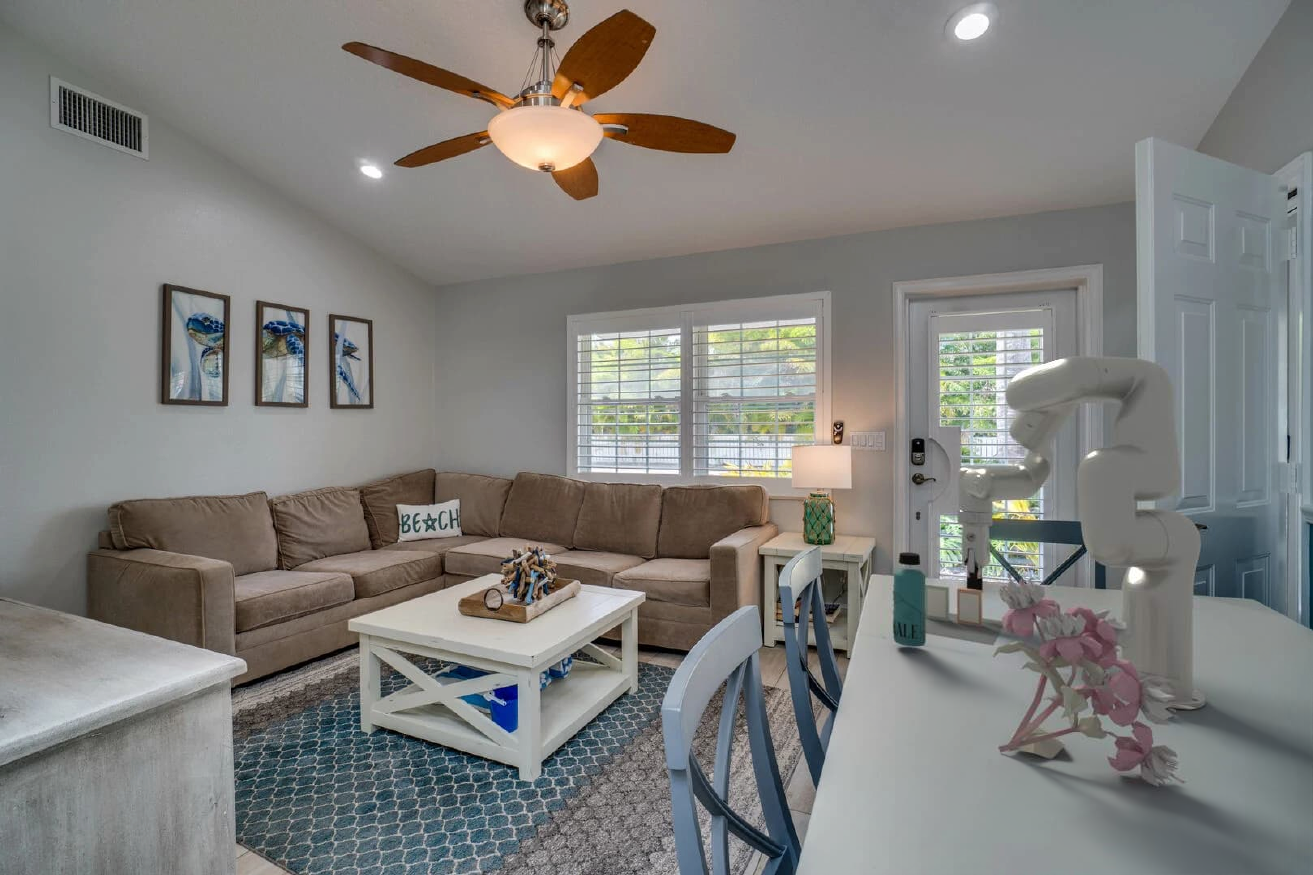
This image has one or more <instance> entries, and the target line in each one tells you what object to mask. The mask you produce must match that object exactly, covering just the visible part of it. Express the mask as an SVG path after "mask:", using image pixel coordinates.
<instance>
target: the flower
mask: <svg viewBox="0 0 1313 875" xmlns="http://www.w3.org/2000/svg"><path fill="white" fill-rule="evenodd" d="M1011 575H1012V574H1011V573H1009V572H1007V577H1008V579H1009V582H1008V585H1006V584H1004V585H1003V586H1001V585H1000V588H999V593H998V594H999V596H1000V599H1001V600H1002V602H1004V603H1006V605H1007V606H1008V608H1009V610H1007V612H1006V613H1005V614H1004V615H1003V616H1002V618H1001V619H1002V620H1001V621H1002V623H1003V628H1002V629H1004V631H1005V632H1006V633H1010V634H1013V632H1014V633H1015V635H1018V636H1021V637H1024V638H1027V637H1028V638H1029V637H1034V631H1035V630H1034V624H1035V627H1036V629H1037V631H1038V634H1039V636H1040V639H1041V641H1042V644H1041V645H1040V647H1039V649H1038V648H1036V647H1034V646H1032V645H1030V644H1028V643H1026V642H1025V641H1023V640H1022V641H1020V640H1016V641H1014V642H1011V643H1008V644H1005V645H1002V646H999V647H996V649H995V651H994V653H993V656H992V657H993V658H995V657H996V656H998V654H999V653H1001V654H1008V655H1009V654H1012V653H1013V654H1014V653H1017V652H1020V651H1022V652H1024V654H1026V655H1027V656H1028V657H1029V658H1030V659H1031V660H1032V661H1026V662H1025V664H1024V665H1023V666H1022V667H1021V669H1022V670H1024V669H1026V668H1027V669H1029V670H1030V671H1032V672H1036V673H1041V675H1040V678H1039V682H1038V684H1037V689H1036V692H1035V695H1034V698H1033V700H1032V702H1031V705H1030V707H1029V708H1028V710H1027V711H1026V714H1024V717H1023V718H1022V720H1021V722H1020V723H1019V725H1018V726H1017V727H1016V729H1015V730H1014V731H1013V732H1012V733H1011V734H1010V736H1009V743H1007V744H1004V745H1000V746H997V748H998V751H999V752H1000V753H1004V752H1007V753H1009V752H1013V751H1021V752H1026V753H1032V754H1035V755H1037V756H1039V757H1043V758H1045V759H1049V760H1051V759H1052V758H1055V757H1056V756H1057V755H1058V754H1059V753H1060V752H1061V750H1063V748H1064V747H1065V745H1066V744H1065V743H1064V742H1063V740H1062V739H1061V738H1060V737H1061V736H1064V735H1069V734H1072V733H1081V734H1083V735H1084V736H1086V737H1087V738H1092V739H1098V740H1103V739H1105V738H1106V737H1108V736H1111V737H1114V738H1115V742H1114V745H1115V747H1116V749H1117V750H1116V752H1115V758H1113V757H1110V756H1108V755H1106V758H1107V761H1108V764H1109V766H1110V767H1111V768H1113V769H1115V770H1116V771H1118V772H1127V771H1128V772H1129V771H1132V770H1133V769H1135V768H1136V767H1137V766H1138V765H1140V775H1141V776H1140V777H1141V778H1142V779H1143V780H1144V781H1146V783H1148V784H1151V785H1153V786H1156V787H1160V785H1159V783H1158V780H1160V781H1161V782H1162V783H1163V784H1164V785H1165V786H1167V784H1166V782H1165V780H1169V781H1170V782H1171V783H1173V780H1172V779H1171V778H1170V777H1172V778H1173V779H1175V780H1176V781H1178V782H1179V783H1182V784H1185V783H1186V781H1185V780H1182V779H1180V777H1178V776H1175V774H1173V773H1172V772H1174V771H1175V770H1178V769H1179V768H1177V766H1178V764H1179V763H1180V762H1178V761H1177V760H1175V759H1174V758H1178V754H1177V752H1176V751H1175V750H1173V749H1172V748H1170V747H1168V746H1167V745H1165V744H1163V745H1155V746H1153V745H1154V742H1155V741H1154V738H1153V730H1152V729H1151V727H1150V726H1148V725H1147V724H1144V723H1142V722H1141V721H1139V720H1136V719H1137V718H1138V715H1139V711H1141V712H1142V714H1143V716H1144V718H1145V719H1146V720H1148V721H1149V722H1151V723H1153V724H1154V725H1161V726H1170V723H1169V722H1167V721H1166V720H1167V719H1169V718H1171V717H1174V718H1175V719H1176V720H1180V718H1179V717H1180V716H1179V715H1178V714H1176V713H1177V711H1176V710H1177V709H1175V708H1168V707H1170V706H1173V707H1178V708H1184V709H1183V710H1196V709H1197V708H1193V707H1191V706H1186V705H1179V704H1173V703H1171V702H1169V701H1168V700H1170V701H1177V700H1176V699H1171V698H1173V697H1174V696H1172V695H1176V692H1177V691H1174V692H1172V691H1171V688H1170V687H1168V686H1167V685H1166V684H1167V683H1170V682H1172V680H1169V679H1166V678H1163V677H1160V676H1149V677H1148V678H1146V679H1145V680H1144V681H1143V682H1142V683H1140V680H1139V676H1138V673H1137V670H1136V669H1135V667H1134V666H1133V664H1132V663H1131V662H1130V661H1128V660H1123V659H1121V658H1118V659H1117V657H1118V654H1117V653H1118V652H1121V650H1120V649H1118V648H1117V646H1119V647H1120V648H1121V647H1122V648H1124V649H1125V648H1130V645H1131V643H1132V641H1133V640H1132V639H1130V638H1125V636H1127V637H1129V636H1130V635H1127V634H1128V633H1127V631H1128V628H1129V623H1127V622H1123V623H1121V622H1117V618H1116V617H1113V618H1112V619H1110V618H1108V620H1106V617H1107V616H1108V615H1109V613H1110V612H1111V610H1110V609H1108V608H1106V609H1103V610H1101V611H1099V612H1097V613H1094V612H1093V610H1092V609H1090V608H1088V607H1085V606H1082V605H1079V606H1073V607H1072V606H1071V607H1067V609H1066V611H1065V613H1064V614H1063V613H1061V606H1060V604H1058V603H1057V602H1056V601H1055V600H1054V599H1051V598H1046V597H1045V596H1046V593H1045V588H1044V587H1043V586H1042V585H1041V584H1034V582H1033V581H1032V579H1031V577H1029V578H1028V580H1027V581H1026V580H1025V579H1023V578H1020V580H1019V581H1018V583H1019V586H1018V585H1016V583H1015V582H1014V581H1013V580H1012V578H1011ZM1037 617H1038V618H1039V621H1037ZM1045 635H1048V636H1051V637H1054V638H1053V639H1049V640H1047V641H1046V638H1045ZM1070 666H1071V675H1070V677H1069V679H1068V681H1067V683H1066V682H1065V680H1064V678H1062V676H1061V675H1060V673H1059V671H1058V670H1057V669H1058V668H1066V667H1070ZM1113 666H1115V667H1117V668H1119V669H1120V670H1121V669H1122V670H1123V671H1119V672H1116V673H1114V671H1111V672H1110V673H1106V672H1107V670H1110V669H1111V668H1112V667H1113ZM1077 667H1078V668H1081V669H1082V668H1083V669H1082V674H1081V679H1080V680H1081V681H1082V682H1083V683H1084V684H1082V685H1077V686H1074V687H1072V685H1073V683H1074V681H1075V679H1076V675H1077V674H1076V673H1077ZM1048 680H1049V681H1050V684H1051V685H1052V687H1053V689H1054V691H1055V694H1049V695H1048V696H1046V697H1044V698H1043V695H1044V692H1045V689H1046V685H1047V681H1048ZM1114 694H1115V695H1116V696H1117V697H1116V696H1115V695H1114ZM1171 694H1172V695H1171ZM1090 697H1091V698H1090ZM1089 698H1090V699H1091V700H1090V701H1091V708H1092V709H1093V712H1092V714H1089V715H1086V716H1083V717H1080V720H1079V718H1078V716H1079V713H1082V712H1084V711H1086V710H1087V709H1088V708H1089V703H1088V701H1087V700H1088V699H1089ZM1042 700H1050V701H1051V702H1052V703H1051V704H1049V705H1048V706H1047V707H1046V708H1045V709H1044V710H1043V711H1042V712H1040V714H1038V716H1036V717H1035V718H1034V719H1033V720H1032V718H1033V716H1034V714H1035V712H1036V711H1037V710H1038V707H1039V706H1040V704H1041V702H1042ZM1121 700H1122V701H1121ZM1123 701H1124V702H1128V704H1126V703H1124V702H1123ZM1059 707H1062V708H1064V711H1063V713H1062V715H1061V717H1060V719H1064V718H1067V717H1068V718H1067V719H1068V722H1069V726H1070V727H1068V728H1064V729H1061V730H1058V731H1054V732H1053V731H1051V730H1049V729H1046V728H1044V727H1042V726H1040V725H1041V724H1042V723H1043V722H1045V720H1046V719H1048V717H1049V716H1050V715H1051V714H1052V713H1054V712H1055V710H1056V709H1058V708H1059ZM1114 707H1115V708H1114ZM1167 709H1168V710H1167ZM1169 710H1170V711H1172V712H1174V714H1173V713H1172V712H1170V711H1169ZM1098 715H1100V716H1103V717H1104V716H1108V717H1109V719H1110V721H1112V722H1113V724H1115V725H1117V726H1119V727H1121V728H1124V727H1128V726H1130V725H1131V727H1132V730H1131V731H1130V732H1131V733H1132V735H1133V737H1134V738H1135V739H1134V738H1133V737H1131V736H1121V735H1120V736H1119V735H1116V734H1115V733H1114V732H1112V731H1107V730H1104V729H1103V728H1102V724H1103V722H1102V721H1101V720H1100V718H1099V717H1098ZM1031 720H1032V721H1031ZM1030 721H1031V722H1030ZM1170 771H1171V772H1170ZM1157 779H1158V780H1157Z"/></svg>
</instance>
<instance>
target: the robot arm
mask: <svg viewBox="0 0 1313 875" xmlns="http://www.w3.org/2000/svg"><path fill="white" fill-rule="evenodd" d="M1005 390H1006V391H1005V401H1006V404H1007V405H1008V406H1009V407H1010V409H1011V410H1013V411H1015V412H1018V413H1017V415H1016V416H1015V417H1014V420H1013V421H1012V422H1011V424H1010V426H1009V435H1010V437H1011V438H1012V439H1013V441H1015V442H1016V443H1017V444H1018V445H1019V446H1021V447H1023V448H1024V449H1026V450H1028V452H1027V454H1026V456H1025V457H1024V459H1023V460H1022V462H1021V463H1020V464H1019V466H1017V467H1014V466H1013V467H1011V466H1009V467H1002V466H1001V467H986V466H985V467H984V466H964V467H960V468H959V469H958V471H957V524H959V525H961V528H962V529H961V564H962V565H963V566H964V567H966V574H967V575H966V588H967V589H974V590H982V595H983V592H984V590H983V589H984V587H983V586H984V581H983V580H984V578H983V569H985V568H986V567H987V566H988V565H989V564H990V563H991V550H990V548H991V546H990V545H991V544H990V541H991V540H990V529H989V527H991V526H993V517H994V516H993V506H994V505H993V502H994V501H995V502H996V501H999V502H1000V501H1021V500H1022V501H1024V500H1027V499H1029V498H1031V497H1033V496H1035V495H1036V494H1037V493H1039V491H1040V490H1041V488H1043V486H1044V484H1045V483H1046V482H1047V480H1048V478H1049V477H1050V476H1051V473H1052V471H1053V465H1054V464H1053V463H1054V454H1053V449H1052V446H1051V445H1052V444H1053V442H1054V441H1055V440H1056V438H1057V437H1058V435H1059V434H1060V433H1061V431H1062V429H1063V428H1064V427H1065V425H1066V424H1067V423H1068V421H1069V420H1070V419H1071V417H1072V415H1073V414H1074V412H1075V411H1076V410H1077V408H1078V406H1079V405H1080V404H1120V406H1119V407H1118V410H1117V411H1116V413H1115V416H1114V420H1113V424H1112V425H1113V430H1112V431H1113V435H1114V445H1113V446H1103V447H1098V448H1096V449H1093V450H1091V451H1089V452H1088V453H1087V454H1086V455H1084V456H1083V458H1082V460H1081V461H1080V464H1079V465H1078V469H1077V474H1076V489H1077V490H1076V492H1077V499H1078V500H1077V501H1078V509H1079V516H1080V517H1079V518H1080V527H1081V535H1082V539H1083V544H1084V546H1085V548H1086V551H1087V552H1088V554H1089V555H1090V557H1092V559H1093V560H1094V561H1096V562H1097V563H1099V564H1100V565H1102V566H1105V567H1109V568H1120V569H1121V568H1126V571H1125V574H1124V576H1123V578H1122V579H1123V580H1122V584H1121V600H1120V601H1121V608H1120V610H1121V616H1120V617H1121V622H1120V623H1123V622H1127V623H1129V628H1128V631H1127V633H1128V634H1127V635H1130V636H1129V637H1127V636H1125V638H1130V639H1132V640H1133V641H1132V643H1131V645H1130V648H1125V649H1124V648H1122V647H1121V646H1120V648H1121V650H1120V653H1121V656H1120V657H1121V658H1120V659H1123V660H1128V661H1130V662H1131V663H1132V664H1133V666H1134V667H1135V669H1136V670H1137V673H1138V676H1139V680H1140V683H1142V682H1143V681H1144V680H1145V679H1146V678H1148V677H1149V676H1160V677H1163V678H1166V679H1169V680H1172V682H1170V683H1167V684H1166V685H1167V686H1168V687H1170V688H1171V691H1172V692H1174V691H1177V692H1176V695H1172V694H1171V695H1172V696H1174V697H1173V698H1171V699H1176V700H1177V701H1170V700H1168V701H1169V702H1171V703H1173V704H1179V705H1186V706H1191V707H1193V708H1196V709H1200V708H1202V707H1204V706H1205V705H1206V696H1205V695H1204V694H1203V693H1202V692H1201V691H1200V690H1199V689H1196V688H1195V687H1194V686H1193V685H1194V683H1193V681H1194V680H1193V679H1194V678H1193V677H1194V675H1193V674H1194V673H1193V672H1194V671H1193V669H1194V667H1193V666H1194V664H1193V661H1194V658H1193V657H1194V654H1193V653H1194V649H1193V648H1194V646H1193V644H1194V634H1193V633H1194V632H1193V628H1194V627H1193V626H1194V624H1193V622H1194V620H1193V618H1194V617H1193V616H1194V614H1193V612H1194V610H1193V609H1194V584H1195V576H1196V569H1197V566H1198V561H1199V557H1200V553H1201V548H1202V547H1201V545H1202V539H1201V534H1200V531H1199V529H1198V528H1197V526H1196V524H1195V523H1194V522H1193V521H1192V520H1191V519H1190V517H1189V518H1188V517H1187V516H1186V515H1184V514H1182V513H1180V512H1177V511H1175V510H1170V509H1162V508H1161V509H1160V508H1159V509H1158V508H1147V509H1144V508H1141V509H1136V507H1135V502H1137V503H1138V502H1156V501H1157V502H1158V501H1162V500H1163V501H1164V500H1167V499H1170V498H1172V497H1174V496H1175V495H1176V494H1177V493H1178V492H1179V491H1180V489H1181V486H1182V472H1181V463H1180V454H1179V447H1178V439H1177V438H1178V436H1177V431H1176V426H1175V417H1174V416H1175V412H1174V404H1175V403H1174V402H1175V400H1174V398H1175V393H1174V392H1175V391H1174V385H1173V382H1172V378H1171V377H1170V375H1169V373H1168V372H1167V371H1166V370H1165V369H1164V368H1163V367H1162V366H1160V365H1159V364H1157V363H1155V362H1152V361H1150V360H1146V359H1141V358H1137V357H1136V358H1134V357H1123V356H1083V355H1082V356H1079V355H1078V356H1068V357H1063V358H1060V359H1055V360H1054V361H1050V362H1047V363H1044V364H1039V365H1037V366H1034V367H1031V368H1027V369H1025V370H1023V371H1020V372H1019V373H1017V374H1016V375H1014V377H1012V379H1010V381H1009V383H1008V384H1007V387H1006V389H1005ZM1120 670H1121V671H1123V670H1122V669H1120ZM1168 708H1171V709H1175V710H1179V709H1180V710H1185V709H1184V708H1178V707H1173V706H1170V707H1168ZM1168 708H1167V709H1168Z"/></svg>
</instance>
